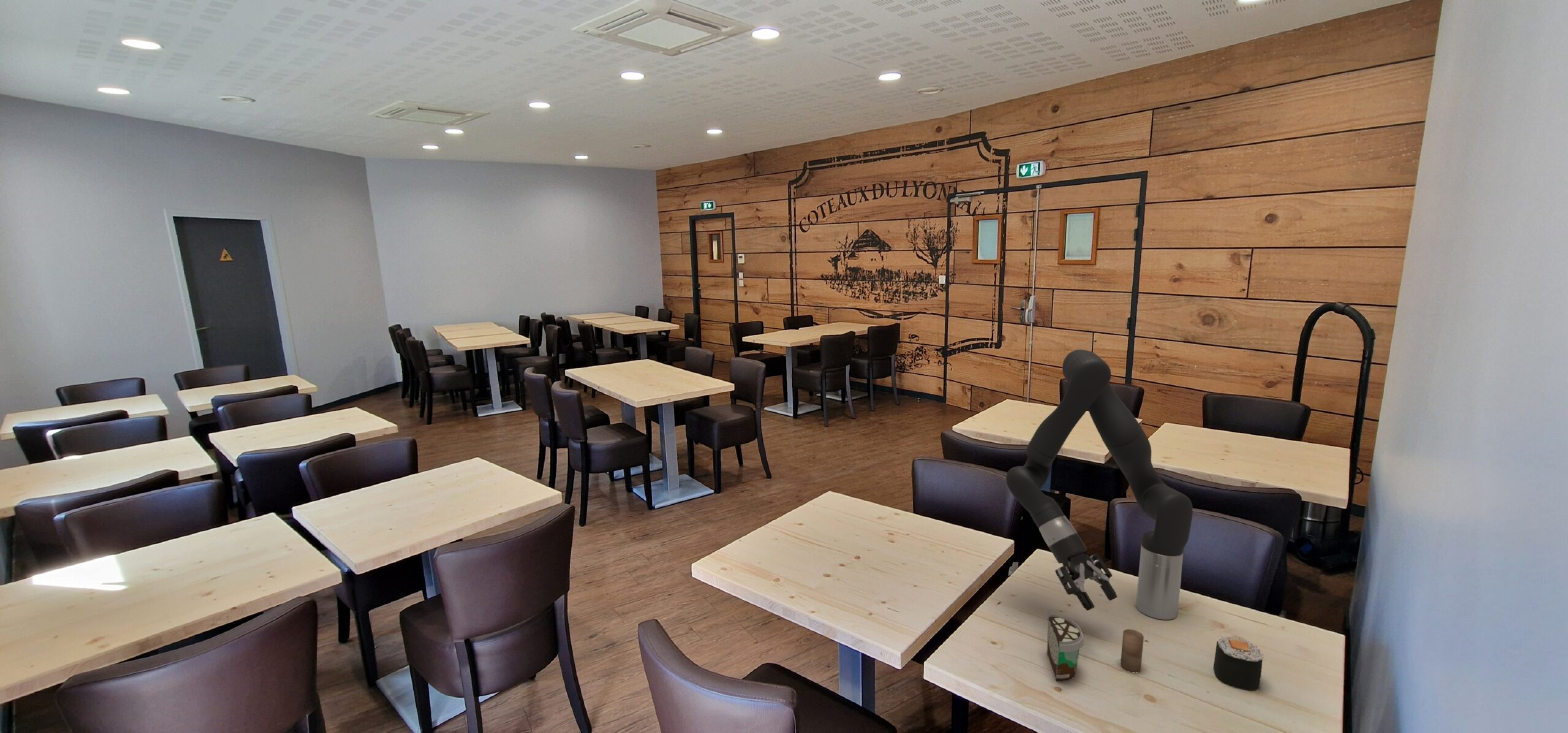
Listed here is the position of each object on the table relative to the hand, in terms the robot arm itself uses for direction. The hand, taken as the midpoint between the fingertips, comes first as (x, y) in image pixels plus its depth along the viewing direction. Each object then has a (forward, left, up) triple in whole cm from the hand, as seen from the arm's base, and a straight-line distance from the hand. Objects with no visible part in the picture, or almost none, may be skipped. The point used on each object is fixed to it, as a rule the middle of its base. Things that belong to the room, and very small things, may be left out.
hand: (1102, 604), depth 145 cm
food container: (+13, +1, -12) cm, 18 cm away
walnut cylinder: (0, +8, -12) cm, 14 cm away
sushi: (-16, +22, -12) cm, 29 cm away
